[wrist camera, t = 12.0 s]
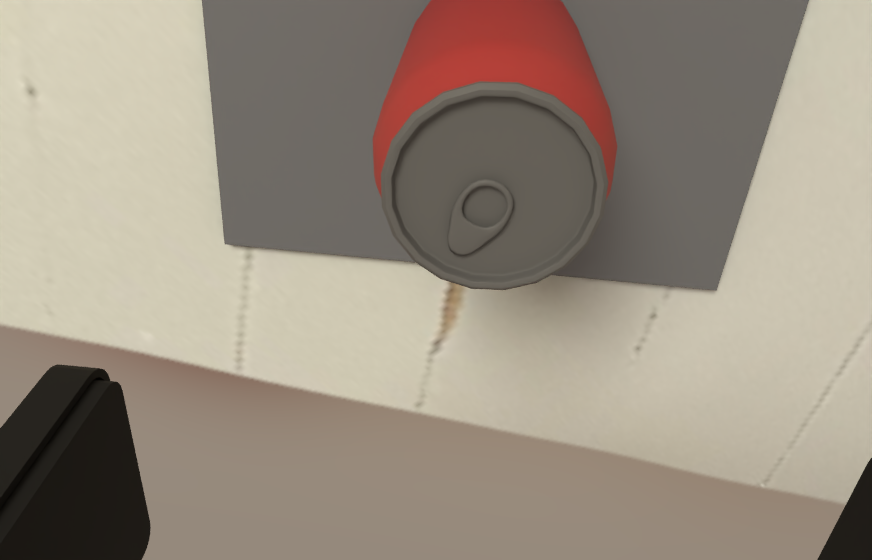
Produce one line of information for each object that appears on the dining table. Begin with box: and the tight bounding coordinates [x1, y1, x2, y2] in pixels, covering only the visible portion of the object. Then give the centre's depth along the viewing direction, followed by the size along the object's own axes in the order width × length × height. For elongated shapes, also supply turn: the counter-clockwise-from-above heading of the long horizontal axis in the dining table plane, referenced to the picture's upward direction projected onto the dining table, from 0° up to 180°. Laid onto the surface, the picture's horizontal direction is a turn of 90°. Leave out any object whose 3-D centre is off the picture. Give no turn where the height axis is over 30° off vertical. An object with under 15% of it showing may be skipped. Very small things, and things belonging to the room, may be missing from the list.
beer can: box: [373, 0, 617, 290], centre depth 23 cm, size 7×7×12 cm
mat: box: [202, 0, 809, 290], centre depth 29 cm, size 22×18×1 cm
